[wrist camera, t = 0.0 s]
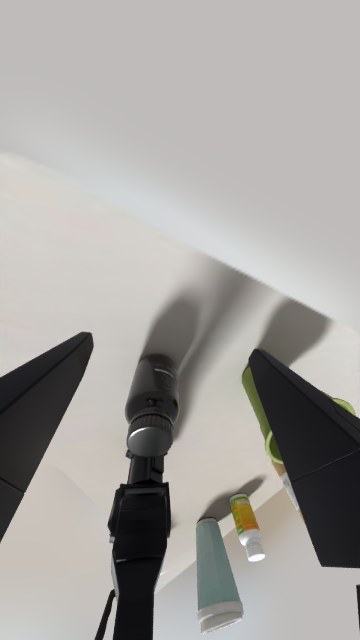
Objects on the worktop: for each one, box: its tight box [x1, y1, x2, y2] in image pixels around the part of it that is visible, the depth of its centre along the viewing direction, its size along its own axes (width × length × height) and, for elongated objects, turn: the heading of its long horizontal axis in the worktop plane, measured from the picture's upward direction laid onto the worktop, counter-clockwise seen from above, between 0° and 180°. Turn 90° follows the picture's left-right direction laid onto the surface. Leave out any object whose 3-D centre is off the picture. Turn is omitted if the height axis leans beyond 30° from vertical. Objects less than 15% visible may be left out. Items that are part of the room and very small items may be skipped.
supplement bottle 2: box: [229, 494, 265, 562], centre depth 41 cm, size 5×5×10 cm
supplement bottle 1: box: [125, 354, 180, 458], centre depth 22 cm, size 7×7×12 cm
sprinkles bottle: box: [272, 460, 306, 525], centre depth 34 cm, size 5×5×14 cm
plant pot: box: [242, 367, 356, 464], centre depth 25 cm, size 12×12×11 cm
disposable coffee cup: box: [196, 518, 244, 634], centre depth 41 cm, size 11×11×15 cm
